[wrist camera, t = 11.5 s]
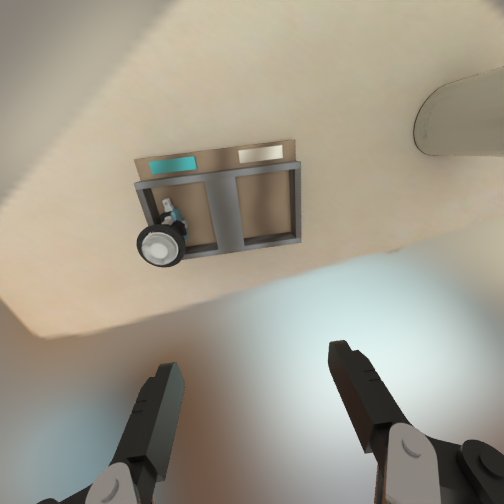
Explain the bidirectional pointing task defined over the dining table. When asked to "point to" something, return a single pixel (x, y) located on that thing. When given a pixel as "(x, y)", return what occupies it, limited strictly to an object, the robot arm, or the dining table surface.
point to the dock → (250, 191)
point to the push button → (164, 238)
